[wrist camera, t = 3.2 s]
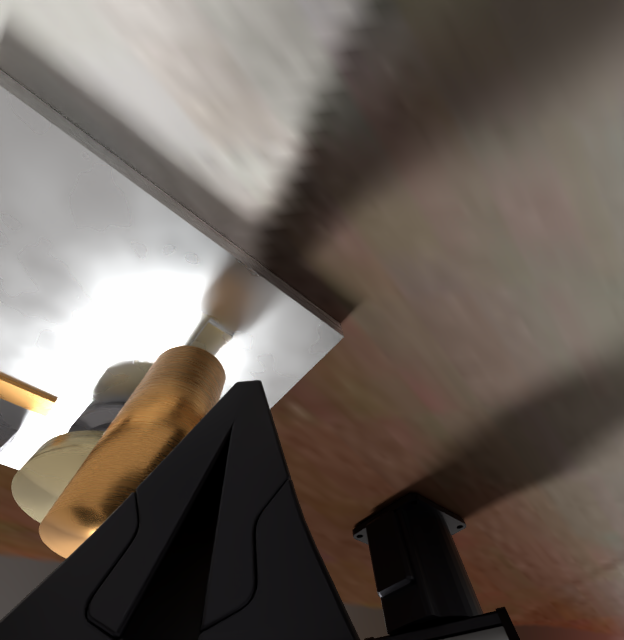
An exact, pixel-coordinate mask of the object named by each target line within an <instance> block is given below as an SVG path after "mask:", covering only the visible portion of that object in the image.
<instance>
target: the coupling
mask: <svg viewBox="0 0 624 640" xmlns="http://www.w3.org/2000/svg"><path fill="white" fill-rule="evenodd" d="M225 380H226V374H225V370H224V368H223V366H222V364H221V363H220V361H219V360H218V359H217V358H216V357H215V356H214V355H212V354H211V353H209V352H208V351H206V350H204V349H201V348H198V347H194V346H175V347H172V348H169V349H167V350H165V351H164V352H162V353H161V354H160V355H159V356H158V358H157V359H156V360H155V362H154V363H153V365H152V366H151V368H150V369H149V370H148V372H147V373H146V375H145V376H144V377H143V379H142V380H141V382H140V383H139V385H138V386H137V387H136V389H135V390H134V392H133V393H132V394H131V396H130V397H129V399H128V400H127V401H126V403H125V404H124V406H123V407H122V409H121V410H120V411H119V413H118V414H117V416H116V417H115V418H114V420H113V421H112V423H111V424H110V426H109V427H108V428H107V430H106V431H93V430H84V431H74V432H68V433H64V434H60V435H58V436H55V437H53V438H51V439H49V440H48V441H46V442H45V443H44V444H42V445H41V446H40V447H39V448H38V450H37V451H36V452H35V453H34V454H33V455H32V456H31V457H30V459H29V460H28V461H27V462H26V463H25V464H24V465H23V466H22V467H21V469H20V470H19V471H18V472H17V473H16V475H15V476H14V478H13V481H12V487H11V489H12V494H13V496H14V499H15V501H16V502H17V504H18V505H19V506H20V507H21V508H22V510H23V511H24V512H26V513H27V514H28V515H29V516H31V517H32V518H33V519H35V520H36V521H38V522H40V523H41V524H40V527H39V534H40V537H41V539H42V540H43V542H44V543H45V544H46V545H47V546H48V547H49V548H50V549H51V550H53V551H54V552H56V553H57V554H59V555H61V556H62V557H64V558H68V557H69V556H70V555H71V554H72V553H73V552H74V551H75V550H76V549H77V548H78V547H79V546H80V545H81V544H82V543H83V542H84V541H85V540H86V539H87V538H89V537H90V536H91V535H92V534H93V533H94V532H95V531H96V529H97V528H98V527H99V526H100V525H101V524H102V523H103V522H104V521H105V520H106V519H107V518H108V517H109V516H110V515H111V514H112V513H113V512H114V511H115V510H116V509H117V508H118V507H119V506H120V505H121V504H122V503H123V502H124V501H125V500H126V498H127V497H128V496H129V495H130V494H131V493H132V492H136V488H137V487H138V486H139V485H140V484H141V483H142V482H143V481H144V480H145V479H146V477H147V476H148V475H149V474H150V473H151V472H152V471H153V470H154V469H155V468H156V467H157V466H158V465H159V464H160V463H161V462H162V461H163V459H164V458H165V457H166V456H167V455H168V454H169V453H170V452H171V451H172V450H173V449H174V448H175V447H176V446H177V445H178V444H179V442H180V441H181V440H182V439H183V438H184V437H185V436H186V435H187V434H188V433H189V432H190V431H191V430H192V429H193V428H194V427H195V426H196V424H197V423H198V422H199V421H200V420H201V419H202V418H203V417H204V416H205V415H206V414H207V413H208V412H209V411H210V410H211V409H212V408H213V406H214V405H215V404H216V403H217V402H218V401H219V399H220V396H221V393H222V390H223V387H224V384H225Z"/></svg>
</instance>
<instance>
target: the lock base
mask: <svg viewBox="0 0 624 640" xmlns="http://www.w3.org/2000/svg"><path fill="white" fill-rule="evenodd" d="M343 337H344V335H343V331H342V327H341V324H340V323H339V322H338V321H336V320H335V319H334V318H332V317H331V316H330V315H328V314H327V313H325V312H324V311H323V310H321V309H320V308H319V307H317V306H316V305H315V304H313V303H312V302H311V301H309V300H308V299H307V298H305V297H304V296H303V295H301V294H300V293H299V292H297V291H296V290H295V289H293V288H292V287H291V286H289V285H288V284H287V283H285V282H284V281H283V280H281V279H280V278H279V277H277V276H276V275H275V274H273V273H272V272H271V271H269V270H268V269H267V268H265V267H264V266H263V265H261V264H260V263H259V262H257V261H256V260H255V259H253V258H252V257H251V256H249V255H248V254H247V253H245V252H244V251H243V250H241V249H240V248H239V247H237V246H236V245H235V244H233V243H232V242H231V241H229V240H228V239H226V238H225V237H224V236H222V235H221V234H220V233H218V232H217V231H216V230H214V229H213V228H212V227H210V226H209V225H208V224H206V223H205V222H204V221H202V220H201V219H200V218H198V217H197V216H196V215H194V214H193V213H192V212H190V211H189V210H188V209H186V208H185V207H184V206H182V205H181V204H180V203H178V202H177V201H176V200H174V199H173V198H172V197H170V196H169V195H168V194H166V193H165V192H164V191H162V190H161V189H160V188H158V187H157V186H156V185H154V184H153V183H152V182H150V181H149V180H148V179H146V178H145V177H144V176H142V175H141V174H140V173H138V172H137V171H136V170H134V169H133V168H132V167H130V166H129V165H128V164H126V163H125V162H123V161H122V160H121V159H119V158H118V157H117V156H115V155H114V154H113V153H111V152H110V151H109V150H107V149H106V148H105V147H103V146H102V145H101V144H99V143H98V142H97V141H95V140H94V139H93V138H91V137H90V136H89V135H87V134H86V133H85V132H83V131H82V130H81V129H79V128H78V127H77V126H75V125H74V124H73V123H71V122H70V121H69V120H67V119H66V118H65V117H63V116H62V115H61V114H59V113H58V112H57V111H55V110H54V109H53V108H51V107H50V106H49V105H47V104H46V103H45V102H43V101H42V100H41V99H39V98H38V97H37V96H35V95H34V94H33V93H31V92H30V91H29V90H27V89H26V88H25V87H23V86H22V85H20V84H19V83H18V82H16V81H15V80H14V79H12V78H11V77H10V76H8V75H7V74H6V73H4V72H3V71H2V70H0V464H3V465H6V466H9V467H12V468H15V469H18V470H20V469H21V467H22V466H23V465H24V464H25V463H26V462H27V461H28V460H29V459H30V457H31V456H32V455H33V454H34V453H35V452H36V451H37V450H38V448H39V447H40V446H41V445H42V444H44V443H45V442H46V441H48V440H49V439H51V438H53V437H55V436H58V435H60V434H64V433H68V432H74V431H84V430H93V431H106V430H107V428H108V427H109V426H110V424H111V423H112V421H113V420H114V418H115V417H116V416H117V414H118V413H119V411H120V410H121V409H122V407H123V406H124V404H125V403H126V401H127V400H128V399H129V397H130V396H131V394H132V393H133V392H134V390H135V389H136V387H137V386H138V385H139V383H140V382H141V380H142V379H143V377H144V376H145V375H146V373H147V372H148V370H149V369H150V368H151V366H152V365H153V363H154V362H155V360H156V359H157V358H158V356H159V355H160V354H161V353H162V352H164V351H165V350H167V349H169V348H172V347H175V346H194V347H198V348H201V349H204V350H206V351H208V352H209V353H211V354H212V355H214V356H215V357H216V358H217V359H218V360H219V361H220V363H221V364H222V366H223V368H224V370H225V374H226V380H225V384H224V387H223V390H222V393H221V396H220V399H221V398H222V397H223V396H224V395H225V394H226V393H227V392H228V391H229V389H230V388H231V387H232V386H233V385H234V384H235V383H237V382H240V381H252V380H261V381H262V384H263V388H264V391H265V394H266V397H267V401H268V404H269V407H270V408H271V407H273V406H274V405H275V404H276V403H277V402H278V401H279V400H280V399H281V398H282V397H283V396H284V395H285V394H286V393H287V392H288V391H289V390H290V389H291V388H292V387H293V386H294V385H295V384H296V383H297V382H298V381H299V380H300V379H301V378H302V377H303V376H304V375H305V374H306V373H307V372H308V371H309V370H310V369H311V368H313V367H314V366H315V365H316V364H317V363H318V362H319V361H320V360H321V359H322V358H323V357H324V356H325V355H326V354H327V353H328V352H329V351H330V350H331V349H332V348H333V347H334V346H335V345H336V344H337V343H338V342H339V341H340V340H341V339H342V338H343ZM220 399H219V400H220Z"/></svg>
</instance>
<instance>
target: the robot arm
mask: <svg viewBox="0 0 624 640" xmlns="http://www.w3.org/2000/svg"><path fill="white" fill-rule="evenodd" d="M465 527H466V524H465V522H464V519H462V518H461V517H459V516H457V515H455V514H453V513H451V512H450V511H448V510H446V509H444V508H442V507H441V506H439V505H437V504H435V503H433V502H431V501H430V500H428V499H426V498H424V497H422V496H420V495H419V494H416V493H410V494H408V495H406V496H405V497H403V498H401V499H400V500H398V501H397V502H395V503H394V504H392V505H390V506H389V507H387V508H386V509H384V510H383V511H381V512H379V513H378V514H376V515H375V516H373V517H372V518H370V519H368V520H367V521H365V522H364V523H362V524H361V525H359V526H357V527H356V528H354V529H353V537H354V539H356V540H359V541H361V542H364V543H366V544H368V545H369V550H370V555H371V560H372V566H373V571H374V577H375V582H376V588H377V593H378V596H379V597H381V602H382V607H383V613H384V617H385V623H386V628H387V633H388V634H389V636H384V637H380V638H374V637H370V638H366V639H364V640H520V638H519V636H518V634H517V632H516V630H515V628H514V626H513V624H512V621H511V619H510V617H509V615H508V613H507V611H506V609H505V607H501V608H497V609H496V611H494V612H489V613H485V614H483V611H482V609H481V607H480V604H479V602H478V599H477V597H476V594H475V592H474V589H473V587H472V585H471V582H470V580H469V577H468V575H467V572H466V570H465V567H464V565H463V563H462V560H461V558H460V555H459V553H458V550H457V548H456V545H455V543H454V541H453V538H452V536H451V535H453V534H455V533H457V532H459V531H461V530H463V529H464V528H465ZM0 640H360V638H359V637H358V634H357V632H356V630H355V628H354V626H353V624H352V622H351V619H350V617H349V615H348V613H347V611H346V609H345V607H344V604H343V602H342V600H341V598H340V596H339V594H338V592H337V589H336V587H335V585H334V583H333V581H332V579H331V577H330V574H329V572H328V570H327V568H326V566H325V564H324V562H323V559H322V557H321V555H320V553H319V551H318V549H317V547H316V544H315V542H314V540H313V537H312V535H311V533H310V530H309V528H308V526H307V523H306V521H305V518H304V515H303V513H302V510H301V507H300V504H299V501H298V498H297V495H296V492H295V489H294V485H293V482H292V480H291V476H290V473H289V470H288V466H287V463H286V460H285V456H284V453H283V450H282V447H281V443H280V440H279V437H278V433H277V430H276V427H275V424H274V420H273V417H272V414H271V411H270V407H269V404H268V401H267V397H266V394H265V391H264V388H263V384H262V381H261V380H252V381H240V382H237V383H235V384H234V385H233V386H232V387H231V388H230V389H229V391H228V392H227V393H226V394H225V395H224V396H223V397H222V398H221V399H220V400H219V401H218V402H217V403H216V404H215V405H214V406H213V408H212V409H211V410H210V411H209V412H208V413H207V414H206V415H205V416H204V417H203V418H202V419H201V420H200V421H199V422H198V423H197V424H196V426H195V427H194V428H193V429H192V430H191V431H190V432H189V433H188V434H187V435H186V436H185V437H184V438H183V439H182V440H181V441H180V442H179V444H178V445H177V446H176V447H175V448H174V449H173V450H172V451H171V452H170V453H169V454H168V455H167V456H166V457H165V458H164V459H163V461H162V462H161V463H160V464H159V465H158V466H157V467H156V468H155V469H154V470H153V471H152V472H151V473H150V474H149V475H148V476H147V477H146V479H145V480H144V481H143V482H142V483H141V484H140V485H139V486H138V487H137V488H136V492H132V493H131V494H130V495H129V496H128V497H127V498H126V500H125V501H124V502H123V503H122V504H121V505H120V506H119V507H118V508H117V509H116V510H115V511H114V512H113V513H112V514H111V515H110V516H109V517H108V518H107V519H106V520H105V521H104V522H103V523H102V524H101V525H100V526H99V527H98V528H97V529H96V531H95V532H94V533H93V534H92V535H91V536H90V537H89V538H87V539H86V540H85V541H84V542H83V543H82V544H81V545H80V546H79V547H78V548H77V549H76V550H75V551H74V552H73V553H72V554H71V555H70V556H69V557H68V558H67V559H66V560H65V561H64V562H62V563H61V564H60V565H59V566H58V567H57V568H56V569H55V570H54V571H53V572H52V573H51V574H50V575H49V576H48V577H46V578H45V579H44V580H43V581H42V582H41V583H40V584H39V585H38V586H37V587H36V588H35V589H34V590H33V591H32V592H30V593H29V594H28V595H27V596H26V597H25V598H24V599H23V600H22V601H21V602H20V603H19V604H18V605H17V606H15V607H14V608H13V609H12V610H11V611H10V612H9V613H8V614H7V615H6V616H5V617H4V618H3V619H1V620H0Z"/></svg>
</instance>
